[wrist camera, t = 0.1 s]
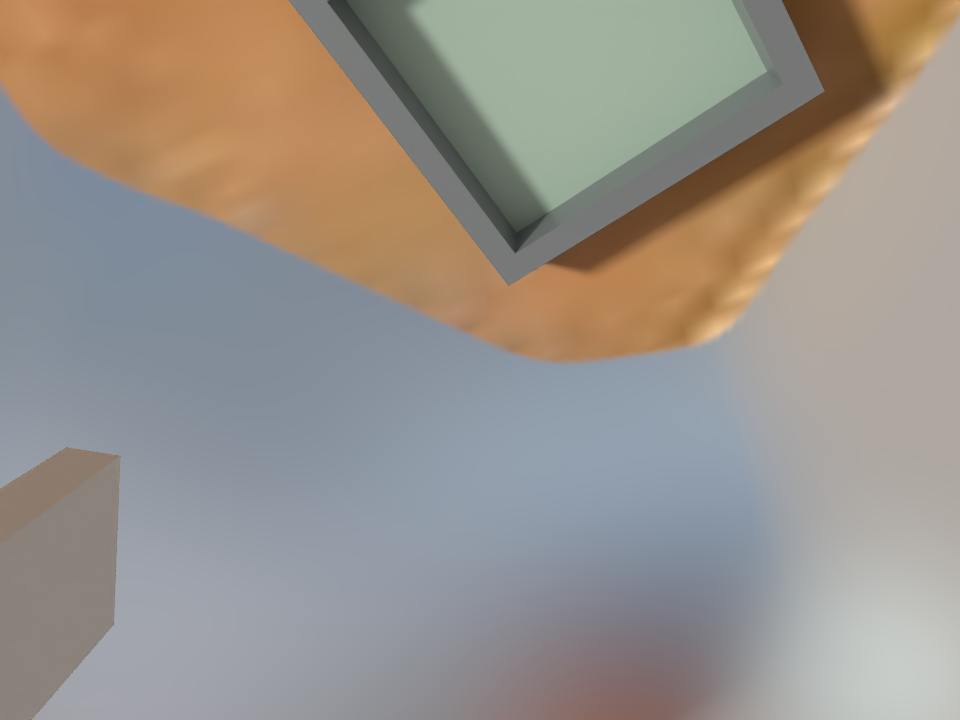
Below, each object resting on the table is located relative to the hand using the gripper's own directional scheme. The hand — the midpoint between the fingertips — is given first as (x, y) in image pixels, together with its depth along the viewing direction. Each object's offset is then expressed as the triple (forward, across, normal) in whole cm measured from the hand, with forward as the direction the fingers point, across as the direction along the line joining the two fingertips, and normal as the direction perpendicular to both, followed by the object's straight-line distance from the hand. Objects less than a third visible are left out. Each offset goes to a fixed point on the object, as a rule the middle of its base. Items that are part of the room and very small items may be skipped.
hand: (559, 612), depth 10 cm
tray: (+25, -1, +12) cm, 28 cm away
